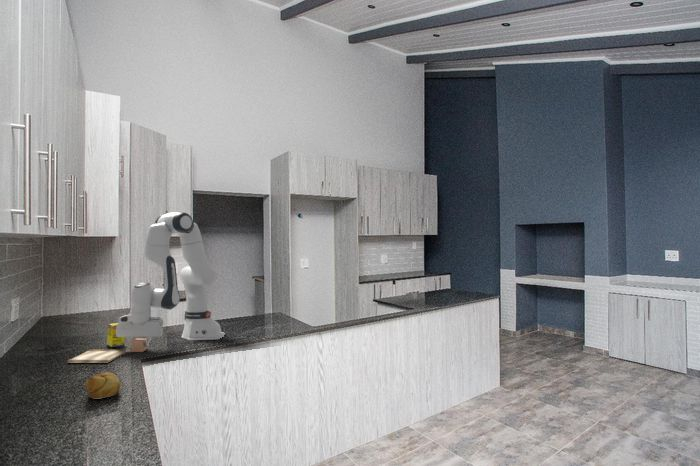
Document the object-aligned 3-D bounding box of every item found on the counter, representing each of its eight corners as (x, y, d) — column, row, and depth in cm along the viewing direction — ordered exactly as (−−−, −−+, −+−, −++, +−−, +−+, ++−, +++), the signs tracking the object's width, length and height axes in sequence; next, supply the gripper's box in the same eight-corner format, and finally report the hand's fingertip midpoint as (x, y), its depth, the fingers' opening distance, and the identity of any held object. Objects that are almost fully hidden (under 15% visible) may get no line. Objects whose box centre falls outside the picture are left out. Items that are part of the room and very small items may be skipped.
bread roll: (91, 389, 137) (92, 366, 137) (122, 386, 141) (124, 364, 141) (83, 403, 125) (84, 378, 125) (117, 399, 129) (119, 375, 129)
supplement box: (111, 348, 188) (112, 325, 188) (106, 346, 191) (107, 323, 191) (124, 346, 192) (126, 323, 193) (119, 344, 196) (120, 322, 196)
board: (125, 353, 181) (125, 349, 181) (107, 363, 165) (107, 360, 165) (89, 352, 179) (89, 349, 179) (67, 363, 163) (67, 360, 163)
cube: (146, 348, 188) (147, 338, 188) (142, 351, 183) (142, 341, 183) (135, 348, 187) (136, 338, 188) (131, 351, 183) (131, 341, 183)
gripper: (165, 316, 190) (164, 344, 190) (121, 315, 188) (120, 344, 187) (160, 318, 184) (159, 348, 183) (114, 318, 181) (113, 348, 181)
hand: (139, 346), depth 185 cm, fingers closed on cube, 5 cm apart
